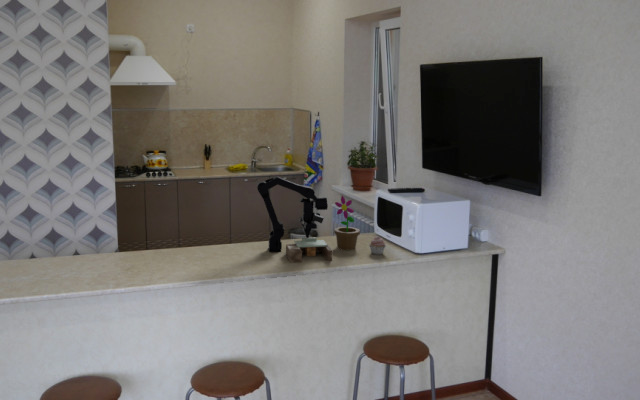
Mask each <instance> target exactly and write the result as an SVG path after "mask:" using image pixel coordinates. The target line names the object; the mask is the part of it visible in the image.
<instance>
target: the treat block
mask: <svg viewBox="0 0 640 400" xmlns="http://www.w3.org/2000/svg"><path fill="white" fill-rule="evenodd" d="M315 251H316V247H306V253H305V255H306V256H307V257H315V256H316V252H315Z"/></svg>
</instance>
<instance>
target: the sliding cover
mask: <svg viewBox="0 0 640 400" xmlns="http://www.w3.org/2000/svg"><path fill="white" fill-rule="evenodd" d="M293 242H294V244H296V246H297V247H325V246H327V245H328V243H327V242H326V241H325V240H324V239H318V238H317V237H315V236H314V237H309V238H307V237H301V240H293ZM325 242H326V243H327V244H326V243H325Z"/></svg>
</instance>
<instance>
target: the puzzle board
mask: <svg viewBox="0 0 640 400" xmlns="http://www.w3.org/2000/svg"><path fill="white" fill-rule="evenodd" d="M325 243H326V244H327V246H325V247H316V251H315V253H322V255H323V256H324V258H327V259H326V260H327V261H328V262H332V261H333V249H332V248H331V247H330V246H329V244H328V243H327V242H326V241H325ZM303 253H306V247H297V246H296V244H295V243H287V244H285V256H286V257H287V259H288V261H289V263H302V262H303V261H302V260H303Z"/></svg>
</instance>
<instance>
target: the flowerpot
mask: <svg viewBox="0 0 640 400" xmlns="http://www.w3.org/2000/svg"><path fill="white" fill-rule="evenodd" d="M340 201H341V202H339V201H335V203H334V204H335V205H336V207H338V208H339V209H338V210H337V212H336V215H341V214H342V213H343V217H344V219H345V220H346V221H345V220H343V221H341V222H340V224H342V225H344V226H338V227H336V228H334V231H333V233H334V235H335V236H336V245H337V246H336V247H337V249H339V250H341V249H342V250H343V251H353V250H356V246H357V243H358V238H359V237H358V236H359V235H360V234H361V230H360V229H359V228H356V227H351V226H349V223H355V219H354V218H353V217H352V216H349V213H350V214H351V213H354V209H353V208H351V207H350V205H352V203H353V201H352V199H350V200H348V201H346V198H345V197H344V195H342V196H341V197H340Z"/></svg>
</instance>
